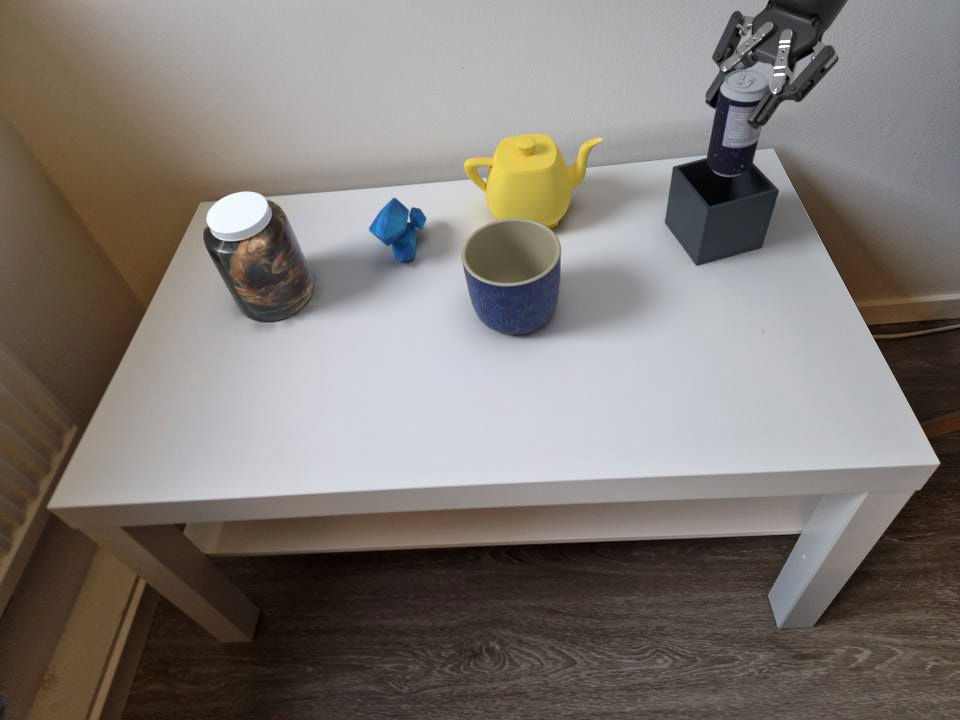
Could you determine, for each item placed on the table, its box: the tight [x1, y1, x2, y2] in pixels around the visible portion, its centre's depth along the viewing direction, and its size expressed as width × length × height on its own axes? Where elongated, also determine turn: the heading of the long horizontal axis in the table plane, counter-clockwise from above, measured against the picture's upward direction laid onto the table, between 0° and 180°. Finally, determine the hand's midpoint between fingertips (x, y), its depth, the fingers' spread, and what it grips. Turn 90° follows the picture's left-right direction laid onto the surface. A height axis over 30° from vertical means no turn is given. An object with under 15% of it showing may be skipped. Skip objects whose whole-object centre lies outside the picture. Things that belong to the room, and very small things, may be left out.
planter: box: [460, 218, 562, 335], centre depth 86 cm, size 12×12×11 cm
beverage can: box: [706, 68, 771, 177], centre depth 81 cm, size 6×6×12 cm
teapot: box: [463, 133, 604, 229], centre depth 98 cm, size 13×20×12 cm
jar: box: [202, 191, 315, 323], centre depth 92 cm, size 12×12×15 cm
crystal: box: [368, 197, 427, 263], centre depth 97 cm, size 7×9×12 cm
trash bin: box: [664, 157, 780, 266], centre depth 92 cm, size 10×10×10 cm
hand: (730, 115), depth 79 cm, fingers closed on beverage can, 5 cm apart
